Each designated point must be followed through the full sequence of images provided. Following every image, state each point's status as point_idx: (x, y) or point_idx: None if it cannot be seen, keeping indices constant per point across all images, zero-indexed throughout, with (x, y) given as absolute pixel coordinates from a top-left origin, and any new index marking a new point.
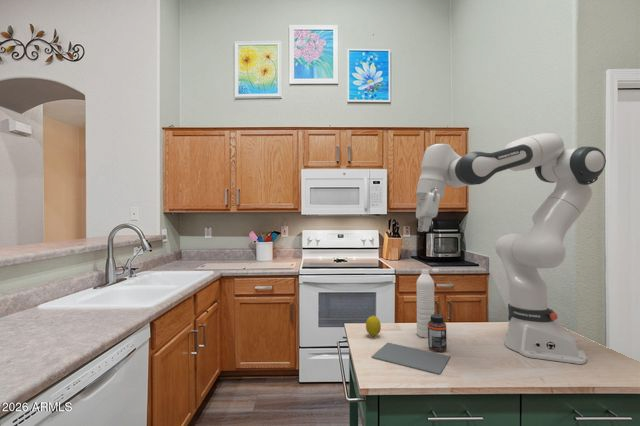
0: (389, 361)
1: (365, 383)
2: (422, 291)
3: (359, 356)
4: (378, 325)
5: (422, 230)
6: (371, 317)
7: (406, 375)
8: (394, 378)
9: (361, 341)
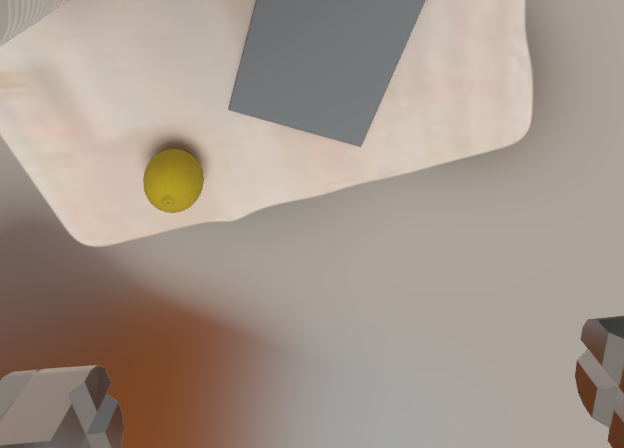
0: (383, 93)
1: (511, 140)
2: (13, 16)
3: (356, 176)
4: (187, 165)
5: (92, 388)
6: (179, 204)
7: (465, 38)
8: (484, 72)
9: (238, 188)
